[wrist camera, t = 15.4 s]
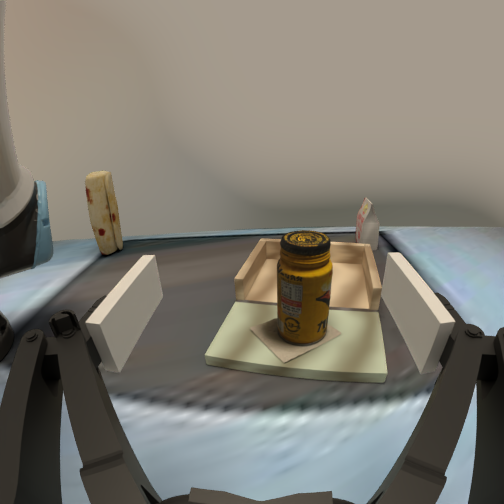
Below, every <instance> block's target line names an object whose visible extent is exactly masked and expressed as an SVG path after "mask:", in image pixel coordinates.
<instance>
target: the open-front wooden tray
mask: <svg viewBox="0 0 504 504" xmlns="http://www.w3.org/2000/svg"><path fill="white" fill-rule="evenodd" d="M280 241H281V239H260V241H259V242H258V244H257V245H256V247H255V248H254V250H253V251H252V253H251V254H250V256H249V257H248V259H247V260H246V262H245V264H244V265H243V267H242V268H241V270H240V271H239V273H238V274H237V276H236V277H235V279H234V280H235V291H236V302H235V304H234V305H233V307H232V309H231V310H230V312H229V314H228V316H227V317H226V319H225V321H224V323H223V324H222V326H221V328H220V330H219V331H218V333H217V335H216V336H215V338H214V340H213V342H212V343H211V345H210V347H209V348H208V350H207V352H206V354H205V359H206V364H207V365H213V366H218V367H224V368H229V369H235V370H241V371H248V372H255V373H262V374H269V375H277V376H286V377H295V378H305V379H316V380H329V381H346V382H371V383H384V382H385V379H386V376H387V366H386V358H385V351H384V344H383V337H382V331H381V325H380V319H379V313H378V308H379V303H380V298H381V291H382V286H381V282H380V278H379V274H378V271H377V267H376V263H375V260H374V256H373V253H372V249H371V246H370V244H362V243H343V242H331V246H330V255H331V256H330V260H331V262H332V265H333V275H332V283H331V294H330V305H329V307H330V308H329V316H328V324H329V325H330V326H332V327H333V328H335V329H336V330H338V331H339V332H341V334H340V335H338V336H337V337H335V338H333V339H331V340H330V341H327V342H326V343H324V344H322V345H320V346H318V347H316V348H313V349H311V350H309V351H307V352H305V353H303V354H301V355H298V356H297V357H295V358H293V359H290V360H289V361H287V362H285V363H284V362H283V361H282V360H281V359H280V358H278V357H277V356H276V355H275V354H274V353H273V352H272V351H271V350H270V349H268V347H267V346H266V345H265V344H264V343H263V342H262V341H261V340H260V338H258V337H257V335H256V334H255V333H254V332H253V331H252V330H251V329H250V328H251V327H253V326H256V325H259V324H263V323H265V322H267V321H270V320H272V319H274V318H277V263H278V260H279V259H280V249H281V245H280Z"/></svg>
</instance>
